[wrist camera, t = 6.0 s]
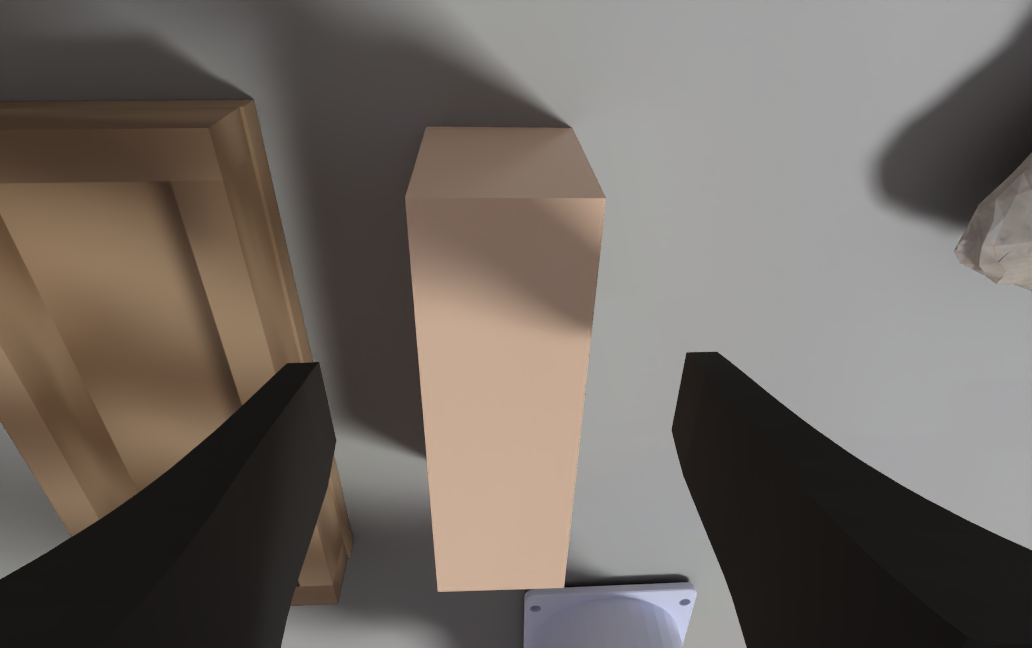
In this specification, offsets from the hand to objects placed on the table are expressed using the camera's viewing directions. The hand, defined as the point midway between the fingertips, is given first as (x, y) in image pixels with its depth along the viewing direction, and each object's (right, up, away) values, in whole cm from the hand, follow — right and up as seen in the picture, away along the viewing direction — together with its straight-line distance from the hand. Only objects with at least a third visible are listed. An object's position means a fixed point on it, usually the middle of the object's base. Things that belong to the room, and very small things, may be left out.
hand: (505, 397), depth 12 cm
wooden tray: (-11, 0, +8) cm, 14 cm away
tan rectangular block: (0, +1, +8) cm, 8 cm away
